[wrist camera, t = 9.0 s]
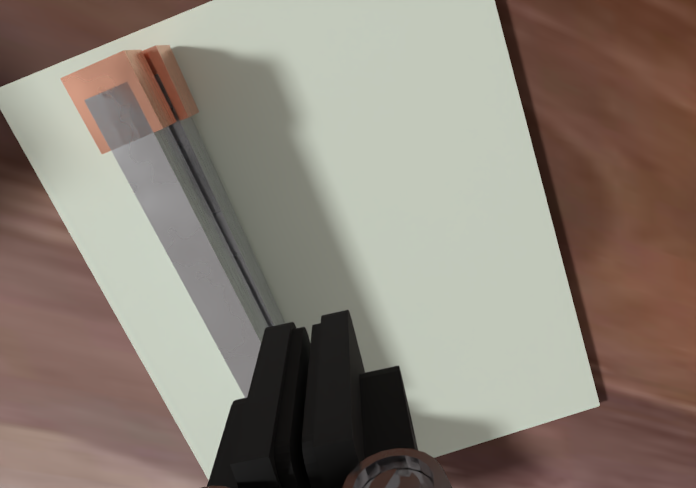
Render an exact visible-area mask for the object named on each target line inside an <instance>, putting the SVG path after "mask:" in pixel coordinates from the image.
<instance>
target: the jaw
mask: <svg viewBox="0 0 696 488" xmlns="http://www.w3.org/2000/svg"><path fill="white" fill-rule="evenodd" d="M60 79H61V81H62V83H63V85H64V87H65V88H66V90H67V92H68V94H69V96H70V97H71V99H72V101H73V103H74V105H75V107H76V108H77V110H78V112H79V114H80V116H81V117H82V119H83V121H84V123H85V125H86V127H87V128H88V130H89V132H90V134H91V136H92V138H93V139H94V141H95V143H96V145H97V147H98V148H99V150H100V152H101V154H104V153H107V152H109V151H112V153H113V155H114V157H115V159H116V160H117V162H118V164H119V166H120V168H121V170H122V172H123V173H124V175H125V177H126V179H127V181H128V183H129V184H130V186H131V188H132V190H133V192H134V194H135V196H136V197H137V199H138V201H139V203H140V205H141V207H142V208H143V210H144V212H145V214H146V216H147V218H148V220H149V221H150V223H151V225H152V227H153V229H154V231H155V232H156V234H157V236H158V238H159V240H160V242H161V243H162V245H163V247H164V249H165V251H166V253H167V255H168V256H169V258H170V260H171V262H172V264H173V266H174V267H175V269H176V271H177V273H178V275H179V277H180V279H181V280H182V282H183V284H184V286H185V288H186V290H187V291H188V293H189V295H190V297H191V299H192V301H193V303H194V304H195V306H196V308H197V310H198V312H199V314H200V315H201V317H202V319H203V321H204V323H205V325H206V327H207V328H208V330H209V332H210V334H211V336H212V338H213V339H214V341H215V343H216V345H217V347H218V349H219V351H220V352H221V354H222V356H223V358H224V360H225V362H226V363H227V365H228V367H229V369H230V371H231V373H232V375H233V376H234V378H235V380H236V382H237V384H238V386H239V387H240V389H241V391H242V393H243V395H244V397H245V398H247V396H248V392H249V389H250V385H251V381H252V377H253V373H254V369H255V365H256V361H257V358H258V354H259V350H260V346H261V342H262V338H263V334H264V330H265V328H266V327H269V326H268V324H267V322H266V320H265V318H264V316H263V314H262V312H261V310H260V308H259V306H258V304H257V302H256V300H255V298H254V296H253V294H252V292H251V290H250V288H249V286H248V284H247V282H246V280H245V278H244V276H243V274H242V272H241V270H240V268H239V266H238V264H237V262H236V260H235V258H234V256H233V254H232V252H231V250H230V248H229V246H228V244H227V242H226V240H225V238H224V236H223V234H222V232H221V230H220V228H219V226H218V224H217V222H216V220H215V218H214V216H213V214H212V212H211V210H210V208H209V206H208V204H207V202H206V200H205V198H204V196H203V194H202V192H201V190H200V188H199V186H198V184H197V182H196V180H195V178H194V176H193V174H192V172H191V170H190V168H189V166H188V164H187V162H186V160H185V158H184V156H183V154H182V152H181V150H180V148H179V146H178V144H177V142H176V140H175V138H174V136H173V134H172V132H171V130H170V128H169V125H171V124H173V123H175V122H177V121H176V119H175V117H174V115H173V113H172V111H171V109H170V107H169V105H168V103H167V101H166V99H165V97H164V95H163V93H162V91H161V89H160V87H159V85H158V83H157V81H156V79H155V77H154V74H153V72H152V70H151V68H150V66H149V64H148V62H147V60H146V58H145V56H144V54H143V52H142V50H123V51H121V52H119V53H116V54H114V55H112V56H110V57H107V58H105V59H103V60H100V61H98V62H96V63H94V64H91V65H89V66H87V67H85V68H82V69H80V70H78V71H76V72H73V73H71V74H69V75H66V76H64V77H62V78H60Z"/></svg>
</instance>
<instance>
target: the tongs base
mask: <svg viewBox="0 0 696 488" xmlns="http://www.w3.org/2000/svg"><path fill="white" fill-rule="evenodd" d="M142 52H143V54H144V56H145V58H146V60H147V62H148V64H149V66H150V68H151V70H152V72H153V74H154V77H155V79H156V81H157V83H158V85H159V87H160V89H161V91H162V93H163V95H164V97H165V99H166V101H167V103H168V105H169V107H170V109H171V111H172V113H173V115H174V117H175V119H176V121H177V122H175V123H173V124H171V125H169V128H170V130H171V132H172V134H173V136H174V138H175V140H176V142H177V144H178V146H179V148H180V150H181V152H182V154H183V156H184V158H185V160H186V162H187V164H188V166H189V168H190V170H191V172H192V174H193V176H194V178H195V180H196V182H197V184H198V186H199V188H200V190H201V192H202V194H203V196H204V198H205V200H206V202H207V204H208V206H209V208H210V210H211V212H212V214H213V216H214V218H215V220H216V222H217V224H218V226H219V228H220V230H221V232H222V234H223V236H224V238H225V240H226V242H227V244H228V246H229V248H230V250H231V252H232V254H233V256H234V258H235V260H236V262H237V264H238V266H239V268H240V270H241V272H242V274H243V276H244V278H245V280H246V282H247V284H248V286H249V288H250V290H251V292H252V294H253V296H254V298H255V300H256V302H257V304H258V306H259V308H260V310H261V312H262V314H263V316H264V318H265V320H266V322H267V324H268V326H269V327H271V326H276V325H280V324H285V321H284V319H283V317H282V315H281V312H280V310H279V308H278V306H277V304H276V301H275V299H274V297H273V295H272V293H271V290H270V288H269V286H268V284H267V282H266V279H265V277H264V275H263V273H262V270H261V268H260V266H259V264H258V262H257V259H256V257H255V255H254V253H253V251H252V248H251V246H250V244H249V242H248V240H247V237H246V235H245V233H244V231H243V229H242V226H241V224H240V222H239V220H238V218H237V215H236V213H235V211H234V209H233V207H232V204H231V202H230V200H229V198H228V195H227V193H226V191H225V189H224V187H223V184H222V182H221V180H220V178H219V176H218V173H217V171H216V169H215V167H214V165H213V162H212V160H211V158H210V156H209V154H208V151H207V149H206V147H205V145H204V143H203V140H202V138H201V136H200V134H199V131H198V129H197V127H196V125H195V123H194V120H193V118H192V116H193V115H194V114H196V113H198V112H199V110H198V108H197V106H196V103H195V101H194V99H193V97H192V95H191V92H190V90H189V88H188V86H187V83H186V81H185V79H184V77H183V74H182V72H181V70H180V68H179V66H178V63H177V61H176V59H175V57H174V54H173V52H172V50H171V48H170V45H155V46H153V47H150V48H148V49H145V50H143V51H142Z"/></svg>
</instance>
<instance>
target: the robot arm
mask: <svg viewBox="0 0 696 488" xmlns="http://www.w3.org/2000/svg"><path fill="white" fill-rule="evenodd" d="M203 488H452V486H451V484H450V482H449V480H448V478H447V476H446V474H445V472H444V470H443V468H442V467H441V465H440V464H439V463H438V461H437V460H436V459H435V458H433V457H432V456H430V455H428V454H427V453H425V452H422V451H418V447H417V442H416V437H415V433H414V428H413V423H412V419H411V414H410V410H409V405H408V401H407V396H406V392H405V388H404V383H403V379H402V375H401V371H400V367H399V366H394V367H389V368H384V369H380V370H375V371H370V372H365V370H364V366H363V362H362V358H361V354H360V350H359V346H358V342H357V338H356V334H355V330H354V326H353V322H352V319H351V315H350V312H349V310H345V311H340V312H335V313H331V314H326V315H322V316H321V323H319V324H314V325H312V332H311V343H310V340H309V336H308V333H307V330H306V328H305V327H300V328H296V326H295V324H294V322H289V323H285V324H280V325H276V326H271V327H266V328H265V330H264V334H263V338H262V342H261V346H260V350H259V354H258V358H257V361H256V365H255V369H254V373H253V377H252V381H251V385H250V389H249V392H248V396H247V398H242V399H237V400H235V401H233V403H232V405H231V408H230V411H229V414H228V418H227V421H226V424H225V428H224V431H223V435H222V438H221V441H220V445H219V448H218V451H217V455H216V458H215V462H214V465H213V468H212V472H211V475H210V478H209V482H208V485H207V487H203Z"/></svg>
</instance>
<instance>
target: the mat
mask: <svg viewBox="0 0 696 488" xmlns="http://www.w3.org/2000/svg"><path fill="white" fill-rule="evenodd" d="M155 45H170V48H171V50H172V52H173V54H174V57H175V59H176V61H177V63H178V66H179V68H180V70H181V72H182V74H183V77H184V79H185V81H186V83H187V86H188V88H189V90H190V92H191V95H192V97H193V99H194V101H195V103H196V106H197V108H198V110H199V112H198V113H196V114H194V115H193V116H192V118H193V120H194V123H195V125H196V127H197V129H198V131H199V134H200V136H201V138H202V140H203V143H204V145H205V147H206V149H207V151H208V154H209V156H210V158H211V160H212V162H213V165H214V167H215V169H216V171H217V173H218V176H219V178H220V180H221V182H222V184H223V187H224V189H225V191H226V193H227V195H228V198H229V200H230V202H231V204H232V207H233V209H234V211H235V213H236V215H237V218H238V220H239V222H240V224H241V226H242V229H243V231H244V233H245V235H246V237H247V240H248V242H249V244H250V246H251V248H252V251H253V253H254V255H255V257H256V259H257V262H258V264H259V266H260V268H261V270H262V273H263V275H264V277H265V279H266V282H267V284H268V286H269V288H270V290H271V293H272V295H273V297H274V299H275V301H276V304H277V306H278V308H279V310H280V312H281V315H282V317H283V319H284V321H285V323H289V322H294V324H295V326H296V328H300V327H305V328H306V330H307V333H308V336H309V340H310V343H311V332H312V325H314V324H319V323H321V316H322V315H326V314H331V313H335V312H340V311H345V310H349V312H350V315H351V319H352V322H353V326H354V330H355V334H356V338H357V342H358V346H359V350H360V354H361V358H362V362H363V366H364V370H365V372H370V371H375V370H380V369H384V368H389V367H394V366H399V367H400V371H401V375H402V379H403V383H404V388H405V392H406V396H407V401H408V405H409V410H410V414H411V419H412V423H413V428H414V433H415V437H416V442H417V447H418V451H422V452H425V453H427V454H428V455H430V456H432V457H433V458H435V457H438V456H441V455H445V454H448V453H451V452H454V451H457V450H460V449H464V448H467V447H470V446H473V445H476V444H480V443H483V442H486V441H489V440H492V439H496V438H499V437H502V436H505V435H508V434H511V433H515V432H518V431H521V430H524V429H527V428H531V427H534V426H537V425H540V424H543V423H547V422H550V421H553V420H556V419H559V418H563V417H566V416H569V415H572V414H575V413H578V412H582V411H585V410H588V409H591V408H594V407H598V406H600V403H599V400H598V396H597V392H596V388H595V384H594V380H593V377H592V373H591V369H590V365H589V361H588V357H587V353H586V350H585V346H584V342H583V338H582V334H581V330H580V327H579V323H578V319H577V315H576V311H575V307H574V304H573V300H572V296H571V292H570V288H569V284H568V280H567V277H566V273H565V269H564V265H563V261H562V257H561V254H560V250H559V246H558V242H557V238H556V234H555V231H554V227H553V223H552V219H551V215H550V211H549V208H548V204H547V200H546V196H545V192H544V188H543V184H542V181H541V177H540V173H539V169H538V165H537V161H536V158H535V154H534V150H533V146H532V142H531V138H530V135H529V131H528V127H527V123H526V119H525V115H524V111H523V108H522V104H521V100H520V96H519V92H518V88H517V85H516V81H515V77H514V73H513V69H512V65H511V62H510V58H509V54H508V50H507V46H506V42H505V38H504V35H503V31H502V27H501V23H500V19H499V15H498V12H497V8H496V4H495V0H213V1H211V2H208V3H206V4H203V5H201V6H198V7H196V8H193V9H191V10H188V11H186V12H184V13H181V14H179V15H176V16H174V17H171V18H169V19H166V20H164V21H161V22H159V23H157V24H154V25H152V26H149V27H147V28H144V29H142V30H139V31H137V32H134V33H132V34H130V35H127V36H125V37H122V38H120V39H117V40H115V41H112V42H110V43H107V44H105V45H103V46H100V47H98V48H95V49H93V50H90V51H88V52H85V53H83V54H80V55H78V56H76V57H73V58H71V59H68V60H66V61H63V62H61V63H58V64H56V65H53V66H51V67H49V68H46V69H44V70H41V71H39V72H36V73H34V74H31V75H29V76H26V77H24V78H22V79H19V80H17V81H14V82H12V83H9V84H7V85H4V86H2V87H0V110H1V112H2V113H3V115H4V117H5V119H6V121H7V122H8V124H9V126H10V128H11V129H12V131H13V133H14V135H15V137H16V138H17V140H18V142H19V144H20V145H21V147H22V149H23V151H24V153H25V154H26V156H27V158H28V160H29V161H30V163H31V165H32V167H33V169H34V170H35V172H36V174H37V176H38V178H39V179H40V181H41V183H42V185H43V186H44V188H45V190H46V192H47V194H48V195H49V197H50V199H51V201H52V202H53V204H54V206H55V208H56V210H57V211H58V213H59V215H60V217H61V218H62V220H63V222H64V224H65V226H66V227H67V229H68V231H69V233H70V234H71V236H72V238H73V240H74V242H75V243H76V245H77V247H78V249H79V250H80V252H81V254H82V256H83V258H84V259H85V261H86V263H87V265H88V266H89V268H90V270H91V272H92V274H93V275H94V277H95V279H96V281H97V282H98V284H99V286H100V288H101V290H102V291H103V293H104V295H105V297H106V299H107V300H108V302H109V304H110V306H111V307H112V309H113V311H114V313H115V315H116V316H117V318H118V320H119V322H120V323H121V325H122V327H123V329H124V331H125V332H126V334H127V336H128V338H129V339H130V341H131V343H132V345H133V347H134V348H135V350H136V352H137V354H138V355H139V357H140V359H141V361H142V363H143V364H144V366H145V368H146V370H147V371H148V373H149V375H150V377H151V379H152V380H153V382H154V384H155V386H156V387H157V389H158V391H159V393H160V395H161V396H162V398H163V400H164V402H165V403H166V405H167V407H168V409H169V411H170V412H171V414H172V416H173V418H174V420H175V421H176V423H177V425H178V427H179V428H180V430H181V432H182V434H183V436H184V437H185V439H186V441H187V443H188V444H189V446H190V448H191V450H192V452H193V453H194V455H195V457H196V459H197V460H198V462H199V464H200V466H201V468H202V469H203V471H204V473H205V475H206V476H207V478H208V480H209V478H210V475H211V472H212V468H213V465H214V462H215V458H216V455H217V451H218V448H219V445H220V441H221V438H222V435H223V431H224V428H225V424H226V421H227V418H228V414H229V411H230V408H231V405H232V403H233V401H235V400H237V399H242V398H245V397H244V395H243V393H242V391H241V389H240V387H239V386H238V384H237V382H236V380H235V378H234V376H233V375H232V373H231V371H230V369H229V367H228V365H227V363H226V362H225V360H224V358H223V356H222V354H221V352H220V351H219V349H218V347H217V345H216V343H215V341H214V339H213V338H212V336H211V334H210V332H209V330H208V328H207V327H206V325H205V323H204V321H203V319H202V317H201V315H200V314H199V312H198V310H197V308H196V306H195V304H194V303H193V301H192V299H191V297H190V295H189V293H188V291H187V290H186V288H185V286H184V284H183V282H182V280H181V279H180V277H179V275H178V273H177V271H176V269H175V267H174V266H173V264H172V262H171V260H170V258H169V256H168V255H167V253H166V251H165V249H164V247H163V245H162V243H161V242H160V240H159V238H158V236H157V234H156V232H155V231H154V229H153V227H152V225H151V223H150V221H149V220H148V218H147V216H146V214H145V212H144V210H143V208H142V207H141V205H140V203H139V201H138V199H137V197H136V196H135V194H134V192H133V190H132V188H131V186H130V184H129V183H128V181H127V179H126V177H125V175H124V173H123V172H122V170H121V168H120V166H119V164H118V162H117V160H116V159H115V157H114V155H113V153H112V151H109V152H107V153H104V154H101V152H100V150H99V148H98V147H97V145H96V143H95V141H94V139H93V138H92V136H91V134H90V132H89V130H88V128H87V127H86V125H85V123H84V121H83V119H82V117H81V116H80V114H79V112H78V110H77V108H76V107H75V105H74V103H73V101H72V99H71V97H70V96H69V94H68V92H67V90H66V88H65V87H64V85H63V83H62V81H61V79H60V78H62V77H64V76H66V75H69V74H71V73H73V72H76V71H78V70H80V69H82V68H85V67H87V66H89V65H91V64H94V63H96V62H98V61H100V60H103V59H105V58H107V57H110V56H112V55H114V54H116V53H119V52H121V51H123V50H142V51H143V50H145V49H148V48H150V47H153V46H155Z"/></svg>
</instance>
